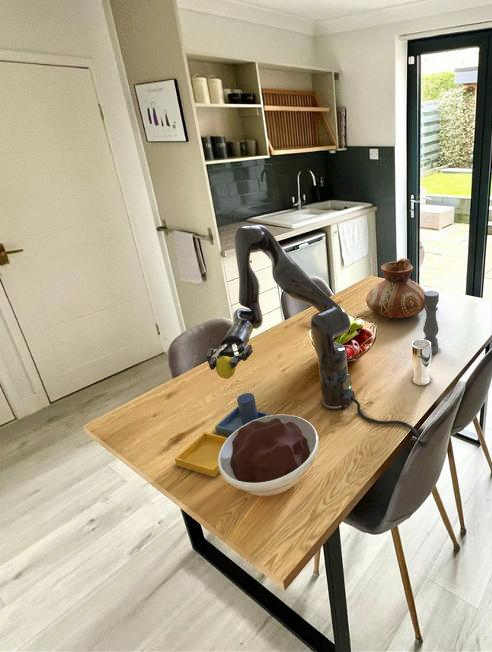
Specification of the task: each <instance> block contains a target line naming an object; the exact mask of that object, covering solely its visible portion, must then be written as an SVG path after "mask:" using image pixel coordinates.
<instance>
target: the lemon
mask: <svg viewBox="0 0 492 652" xmlns="http://www.w3.org/2000/svg"><path fill="white" fill-rule="evenodd" d="M231 360H232V357H228V356H222V357H220V358H219V359H218V360H217V362H216V367H215V372H216V374H217V375H218V377H219V378H222V379H228V380H229V379H230V378H231V377H233V376H234V375H235V372H236V367H235V368H231V364H230V362H231Z"/></svg>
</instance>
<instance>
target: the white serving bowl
mask: <svg viewBox="0 0 492 652" xmlns="http://www.w3.org/2000/svg"><path fill="white" fill-rule="evenodd" d="M227 438H228V439H227V440H226V441H225V442H224V444H223V446H222V447H221V449H220V452H219V456H218V468H219V473H220V476H221V477H222V478H223V479H224V481H226V482H227V484H229V485H230V486H232V487H234V488H235V489H239V490H241V491H244V492H246V493H248V494H250V495H253V496H257V497H271V496H276V495H279V494H281V493H284V492H286V491H288V490H289V489H291V488H293V487H294V486H295V485H296V484H298V482H300V480H301V479H302V478H303V477H304V475H305V474H306V472H307V470H308V469H309V468H310V467H311V465H312V464H313V462H314V460H315V459H316V456H317V454H318V451H319V446H320V440H319V439H320V438H319V434H318V431H317V430H316V428H315V426H313V424H312V423H311V422H310V421H308V420H307V419H305V418H303V417H301V416H297V415H293V414H279V413H278V414H271V415H270V414H269V416H265V417H262V418H259V419H256V420H253V421H251V422H249V423H247V424H245V425H243V426H242V427H240V428H239V429H237V430H236V431H235V432H234V433H232V434H231V435H228V437H227Z"/></svg>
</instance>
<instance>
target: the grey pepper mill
mask: <svg viewBox="0 0 492 652" xmlns="http://www.w3.org/2000/svg"><path fill="white" fill-rule="evenodd" d="M439 300H440V293H439V292H438V291H436V290H426V291H425V292H424V302H425V304H426V306H425V308H424V311H425V314H426V315H425V321H424V325H423V329H422V331H423V333H424V338H423V339H424V340H428V341H429V342H430V343H431V355H435V354H437V353H438V352H439V339H438V337H437V335H438V333H439V331H440V329H439V324H438V320H437V311H438V310H439V307H438V304H439Z"/></svg>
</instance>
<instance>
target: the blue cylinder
mask: <svg viewBox="0 0 492 652" xmlns="http://www.w3.org/2000/svg"><path fill="white" fill-rule="evenodd" d="M236 401H237V406H238V407H239V412H240V416H241V421H242V425H245V424H247V423H249V422H251V421H253V420H256V419H259V418H258V413H257V411H258V409H257V403H256V398H255V395H254V393H251V392H246V393H242V394H240V395H239V396H237V399H236Z"/></svg>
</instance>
